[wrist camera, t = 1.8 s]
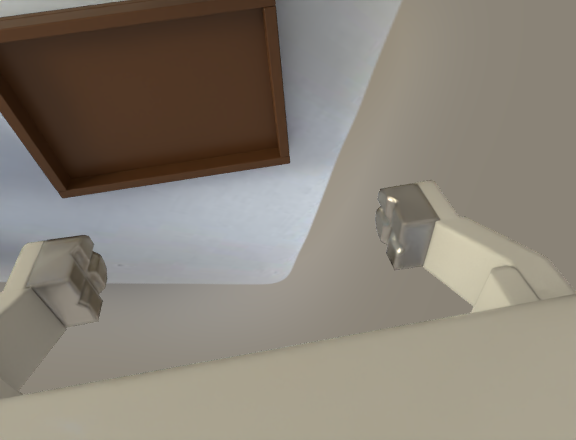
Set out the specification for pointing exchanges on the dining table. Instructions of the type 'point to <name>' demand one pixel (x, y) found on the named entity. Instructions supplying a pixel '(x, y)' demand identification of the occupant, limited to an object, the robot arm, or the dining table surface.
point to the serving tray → (145, 91)
